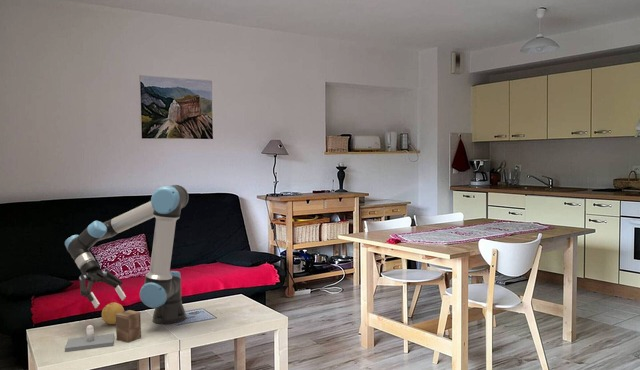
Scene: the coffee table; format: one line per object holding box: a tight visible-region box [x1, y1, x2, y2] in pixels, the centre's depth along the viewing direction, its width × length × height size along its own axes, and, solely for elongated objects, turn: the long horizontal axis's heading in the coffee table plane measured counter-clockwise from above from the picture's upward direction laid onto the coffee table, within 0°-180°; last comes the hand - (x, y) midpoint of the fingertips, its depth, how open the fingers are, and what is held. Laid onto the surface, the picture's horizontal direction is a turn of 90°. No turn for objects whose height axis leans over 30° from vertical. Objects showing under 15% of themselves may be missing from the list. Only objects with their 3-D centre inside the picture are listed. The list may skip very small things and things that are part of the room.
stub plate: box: [64, 324, 115, 353], centre depth 222 cm, size 18×12×8 cm, turn 109°
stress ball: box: [101, 302, 125, 325], centre depth 249 cm, size 10×10×10 cm
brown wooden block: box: [115, 309, 142, 343], centre depth 227 cm, size 7×7×11 cm
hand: (111, 302), depth 232 cm, fingers open, 13 cm apart
